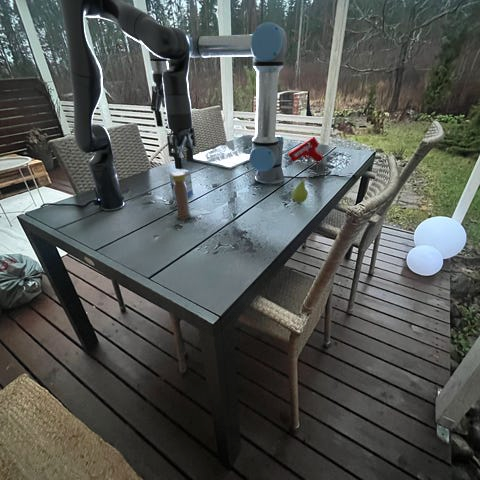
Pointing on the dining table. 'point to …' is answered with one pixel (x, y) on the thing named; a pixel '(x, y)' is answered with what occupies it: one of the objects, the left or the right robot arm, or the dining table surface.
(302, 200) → the fruit
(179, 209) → the bottle
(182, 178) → the cap
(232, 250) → the dining table surface
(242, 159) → the relief map
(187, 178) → the ink box
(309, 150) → the toy gun
